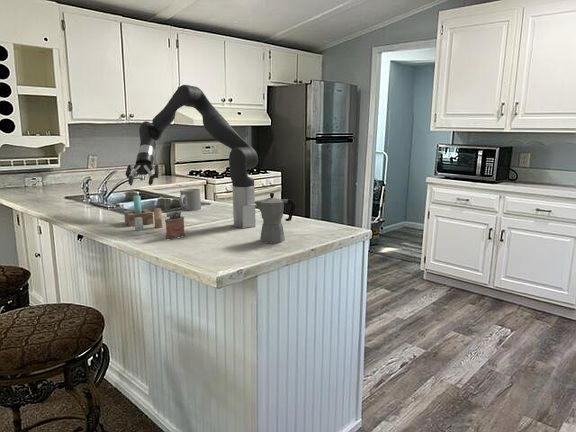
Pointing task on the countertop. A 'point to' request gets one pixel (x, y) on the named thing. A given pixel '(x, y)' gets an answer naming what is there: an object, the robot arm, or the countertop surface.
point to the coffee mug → (190, 199)
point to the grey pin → (138, 224)
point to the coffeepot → (273, 218)
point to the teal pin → (137, 204)
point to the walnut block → (145, 215)
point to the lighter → (174, 225)
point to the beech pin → (158, 218)
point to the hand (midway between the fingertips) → (140, 184)
